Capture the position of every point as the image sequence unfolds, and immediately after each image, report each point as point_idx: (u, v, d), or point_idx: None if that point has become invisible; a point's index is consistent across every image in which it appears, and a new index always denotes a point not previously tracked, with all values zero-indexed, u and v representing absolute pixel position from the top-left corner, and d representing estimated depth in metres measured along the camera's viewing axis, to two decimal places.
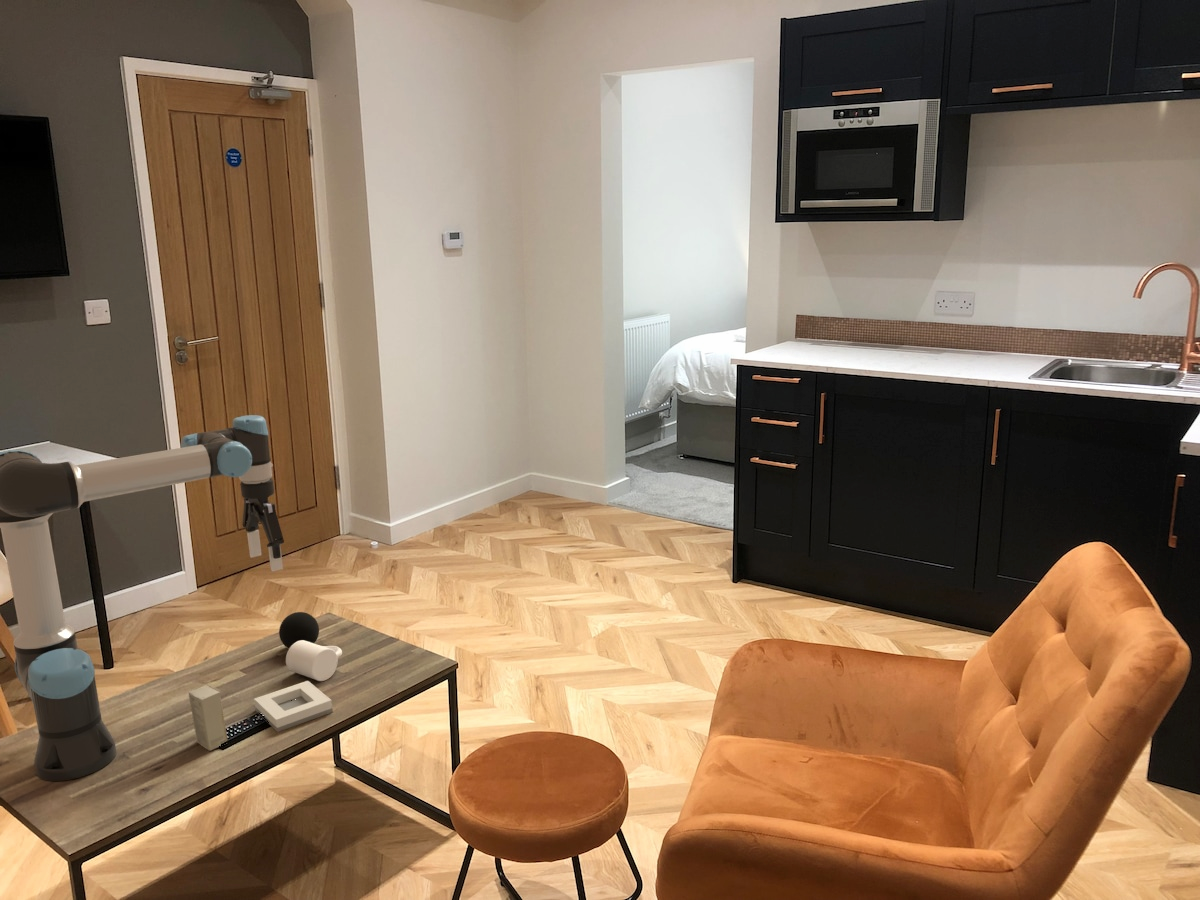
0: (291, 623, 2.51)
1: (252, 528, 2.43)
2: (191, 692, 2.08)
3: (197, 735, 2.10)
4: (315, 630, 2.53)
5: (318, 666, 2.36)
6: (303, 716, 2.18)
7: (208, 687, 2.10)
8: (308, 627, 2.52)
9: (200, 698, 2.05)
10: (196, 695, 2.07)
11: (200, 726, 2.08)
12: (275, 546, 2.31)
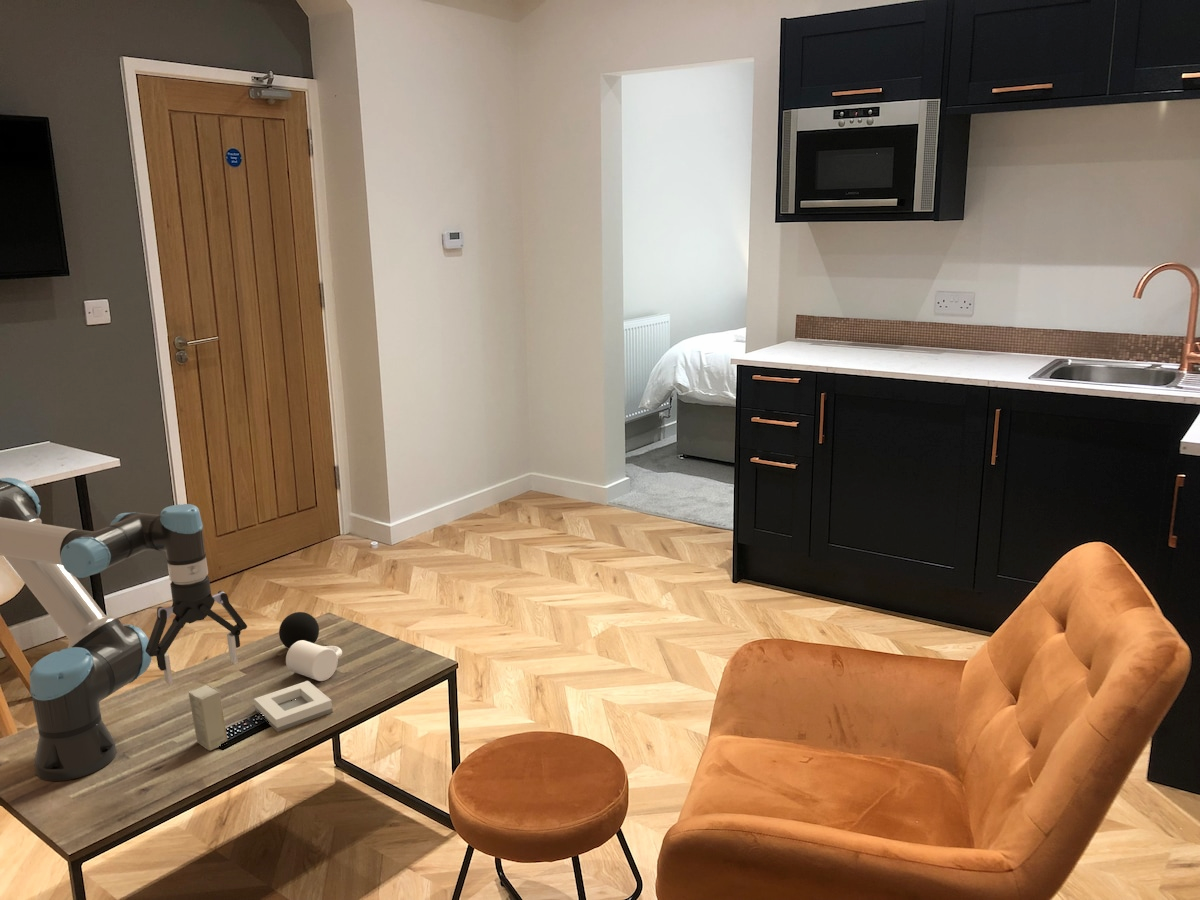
0: (291, 623, 2.51)
1: None
2: (191, 692, 2.08)
3: (197, 735, 2.10)
4: (315, 630, 2.53)
5: (318, 666, 2.36)
6: (303, 716, 2.18)
7: (208, 687, 2.10)
8: (308, 627, 2.52)
9: (200, 698, 2.05)
10: (196, 695, 2.07)
11: (200, 726, 2.08)
12: (156, 655, 2.01)
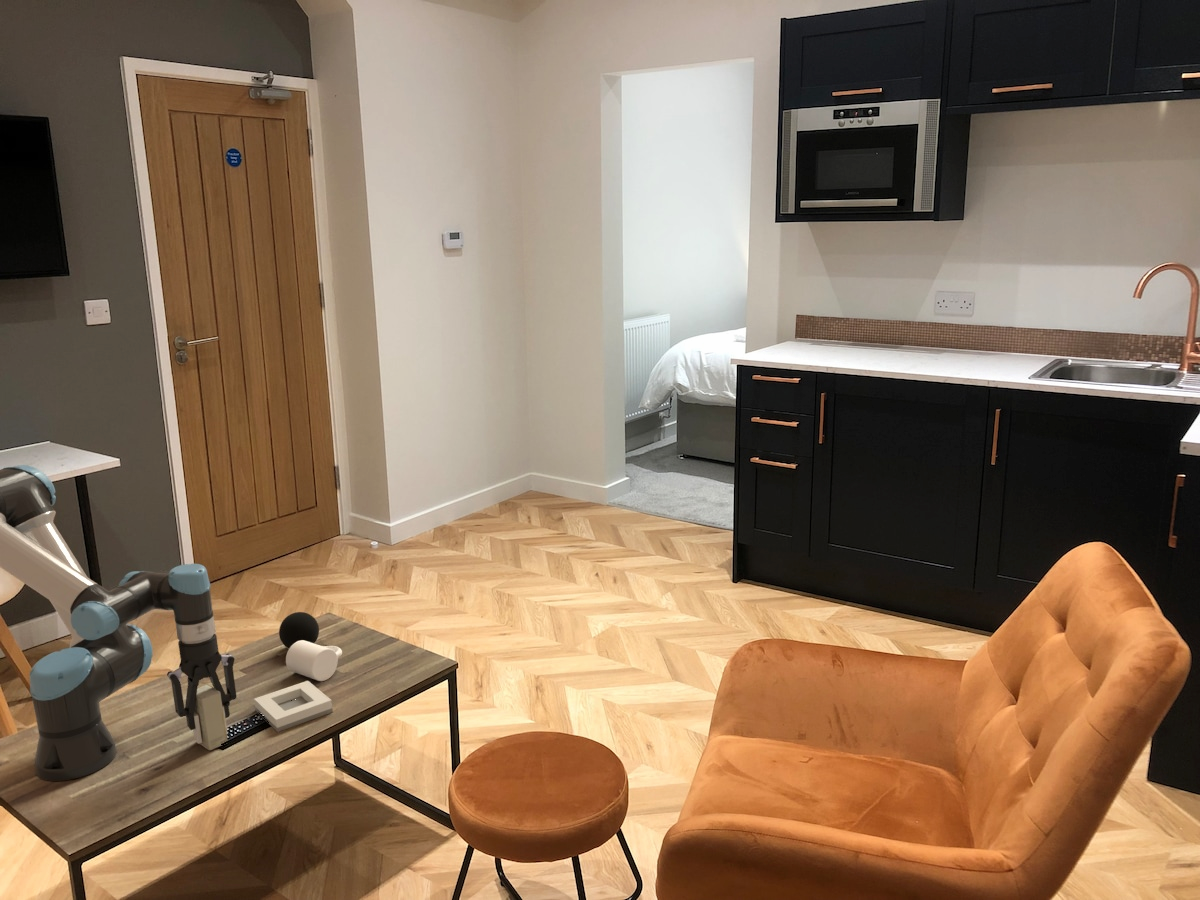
0: (291, 623, 2.51)
1: None
2: None
3: None
4: (315, 630, 2.53)
5: (318, 666, 2.36)
6: (303, 716, 2.18)
7: (209, 687, 2.10)
8: (308, 627, 2.52)
9: (200, 698, 2.06)
10: (197, 695, 2.07)
11: (200, 725, 2.08)
12: (185, 715, 2.07)
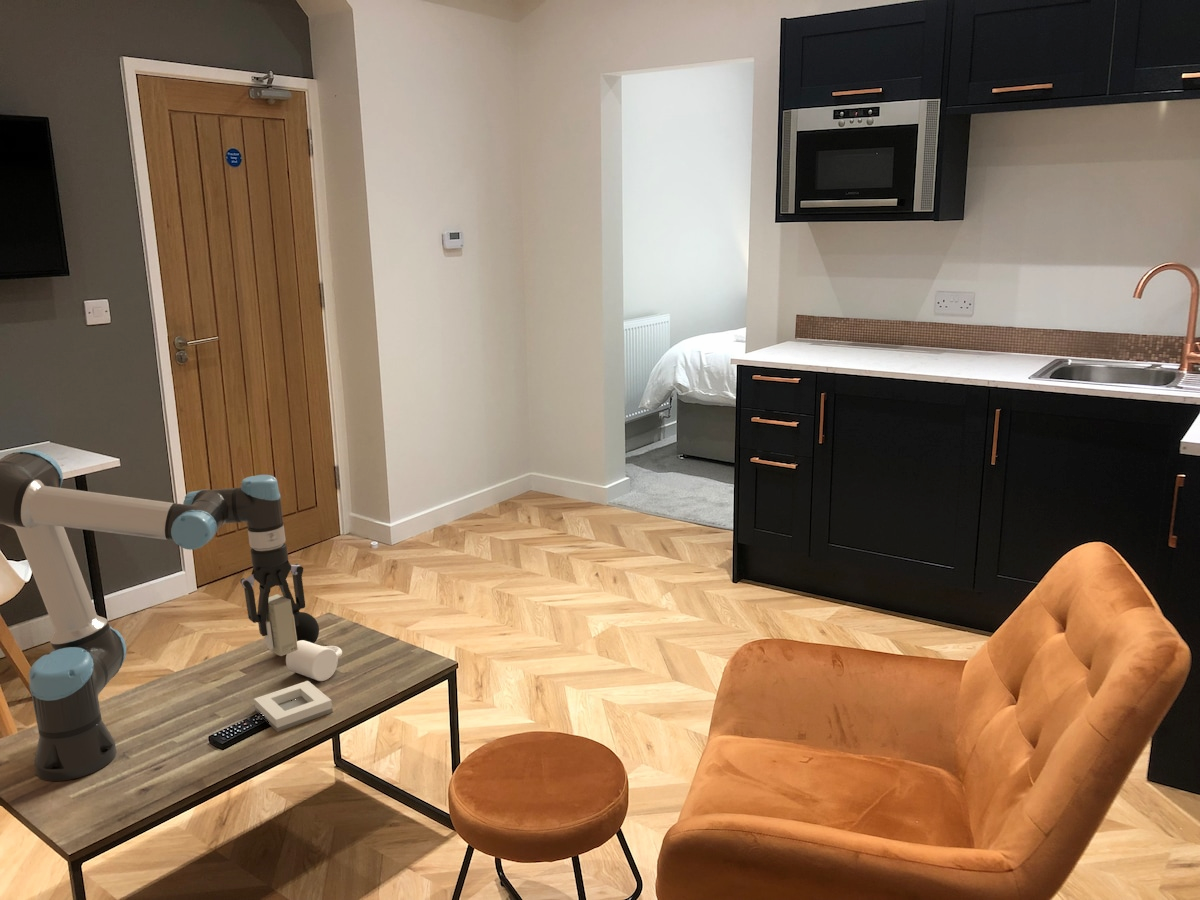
0: None
1: None
2: None
3: None
4: (315, 630, 2.53)
5: (318, 666, 2.36)
6: (303, 716, 2.18)
7: (279, 596, 2.18)
8: (308, 627, 2.52)
9: (272, 604, 2.13)
10: (268, 602, 2.14)
11: (272, 632, 2.15)
12: (258, 622, 2.14)
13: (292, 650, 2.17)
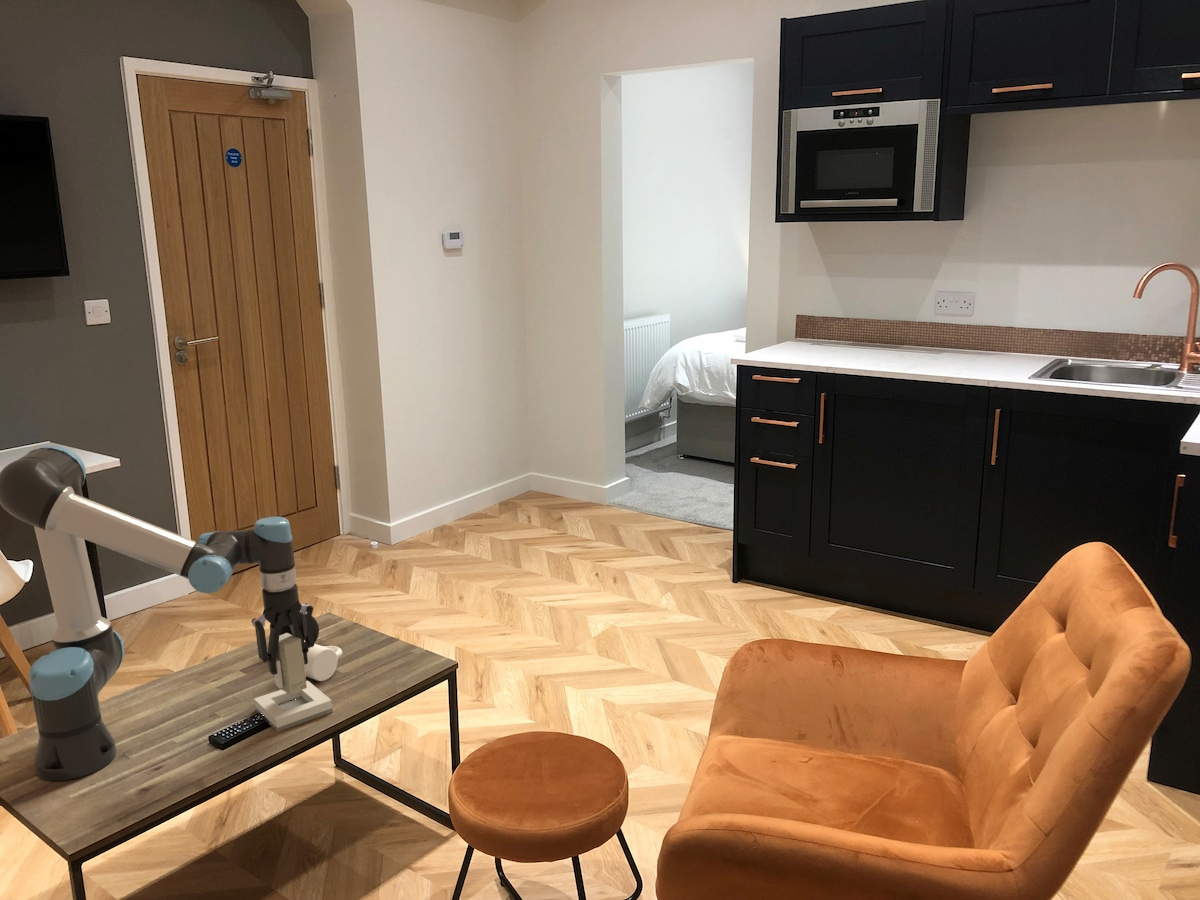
0: None
1: None
2: None
3: None
4: (315, 630, 2.53)
5: (318, 666, 2.36)
6: (303, 716, 2.18)
7: (289, 635, 2.21)
8: None
9: (283, 644, 2.17)
10: (279, 641, 2.18)
11: (281, 671, 2.19)
12: (268, 661, 2.18)
13: (301, 688, 2.20)
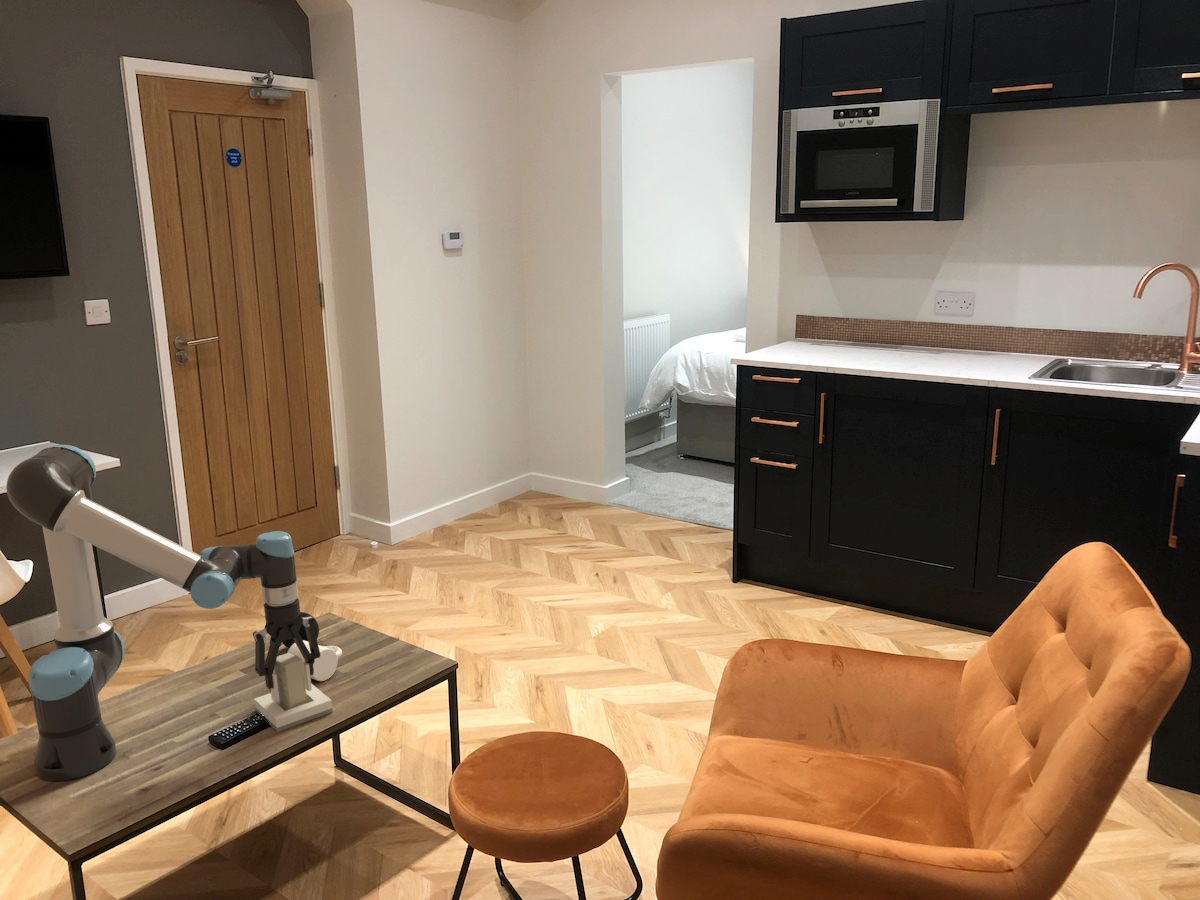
0: None
1: (306, 659, 2.23)
2: None
3: (279, 699, 2.22)
4: (315, 630, 2.53)
5: (318, 666, 2.36)
6: (303, 716, 2.18)
7: (291, 654, 2.23)
8: None
9: (284, 663, 2.18)
10: (280, 661, 2.19)
11: (283, 690, 2.20)
12: None
13: None
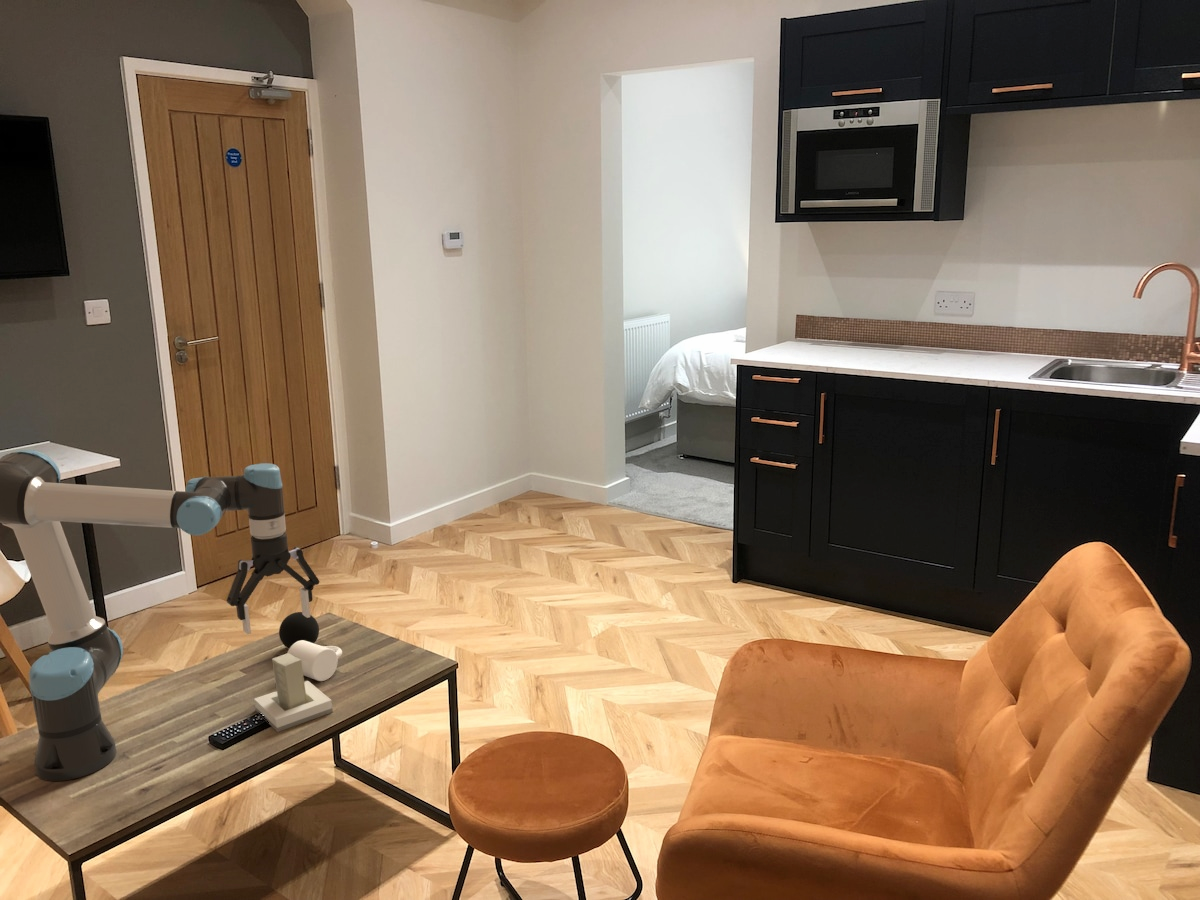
0: (291, 623, 2.51)
1: (305, 586, 2.21)
2: (274, 659, 2.21)
3: (279, 700, 2.22)
4: (315, 630, 2.53)
5: (318, 666, 2.36)
6: (303, 716, 2.18)
7: (290, 655, 2.22)
8: (308, 627, 2.52)
9: (283, 664, 2.18)
10: (279, 662, 2.19)
11: (282, 691, 2.20)
12: (236, 605, 2.12)
13: None
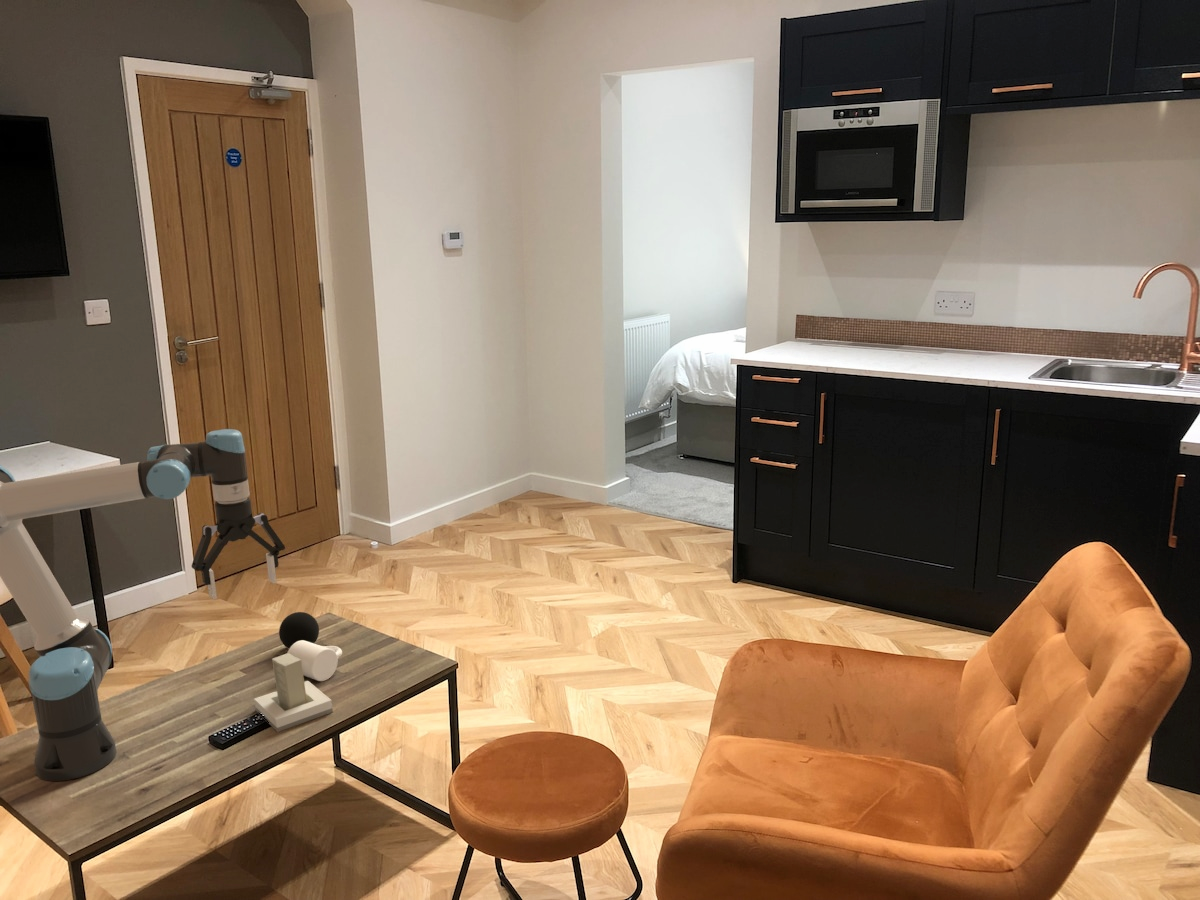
0: (291, 623, 2.51)
1: (271, 551, 2.23)
2: (274, 659, 2.21)
3: (279, 700, 2.22)
4: (315, 630, 2.53)
5: (318, 666, 2.36)
6: (303, 716, 2.18)
7: (290, 655, 2.22)
8: (308, 627, 2.52)
9: (283, 664, 2.18)
10: (279, 662, 2.19)
11: (282, 691, 2.20)
12: (201, 571, 2.14)
13: None
